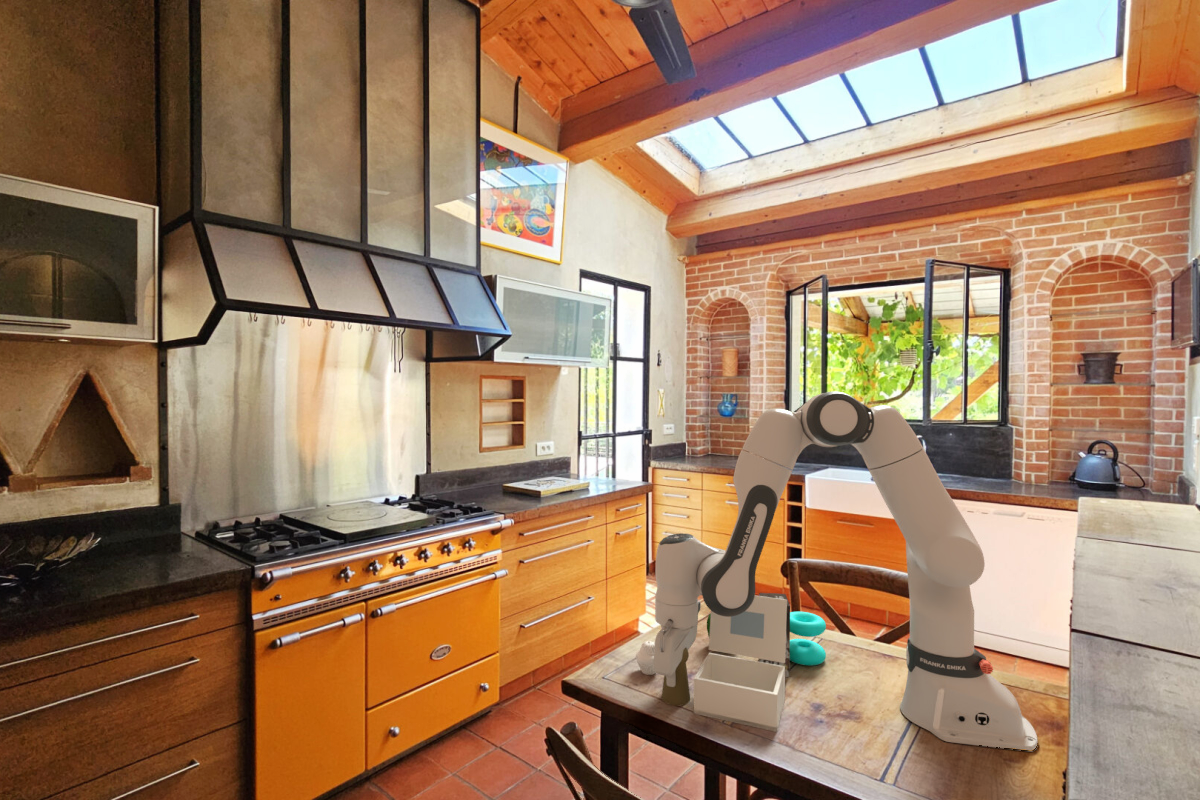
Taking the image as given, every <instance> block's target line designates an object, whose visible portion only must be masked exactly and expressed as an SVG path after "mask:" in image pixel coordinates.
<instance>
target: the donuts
mask: <svg viewBox="0 0 1200 800" xmlns="http://www.w3.org/2000/svg"><path fill="white" fill-rule="evenodd" d="M826 630H827V625H826V621H825V620H824V619H823V617H821V616H820V615H817V614H815V613H813V612H812V613H811V612H807V611H790V634H791V633H792V634H793V635H796V636H800V637H804V638H793V639H790V662H792V663H794V664H797V665H802V666H817V665H821V664H822V663H824V661H825V660H826V658H827V654H826V651H825V649H824V648H823V646H822V645H820V644H819V643H817V642H816V641H813V640H811V639H806V638H805V637H808V638H811V637H816V636H820V635H822V634H823V633H824V632H826Z"/></svg>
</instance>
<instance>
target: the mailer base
mask: <svg viewBox="0 0 1200 800" xmlns="http://www.w3.org/2000/svg"><path fill="white" fill-rule="evenodd" d="M785 681H786V677H785V666H780V665H775V664H769V663H764V662H760V661H758V660H757V661H756V660H751V659H745V658H739V657H735V656H729V655H723V654H719V653H712V652H708V654H707V655H706V657H705V659H704V661H703V663H702V664H701V665H700V667H699V669H698V671H697V672H696V674H695V676H694V678H693V714H694V715H697V716H698V715H699V716H704V717H708V718H712V719H713V718H714V719H717V720H720V721H721V720H722V721H726V722H731V723H736V724H739V725H744V726H747V727H753V728H758V729H762V730H767V731H771V732H775V733H777V732H778V730H779V725H780V721H781V717H782V712H783V709H784V705H785V700H786V699H785V698H786V695H785V694H786V691H785V690H786V685H785V684H786V683H785Z"/></svg>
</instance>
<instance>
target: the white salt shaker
mask: <svg viewBox="0 0 1200 800" xmlns="http://www.w3.org/2000/svg"><path fill="white" fill-rule="evenodd" d="M654 647H655V641H647V640H646V641H643V643H642V644H641V647H640V649H639V650H637V651H636V653H635V659H636V662H637V665H638V667H639V669H640V671H641V673H642V674H644V675H647V676H650V675H651V676H652V675H655V674H656V673H655V671H654Z"/></svg>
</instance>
